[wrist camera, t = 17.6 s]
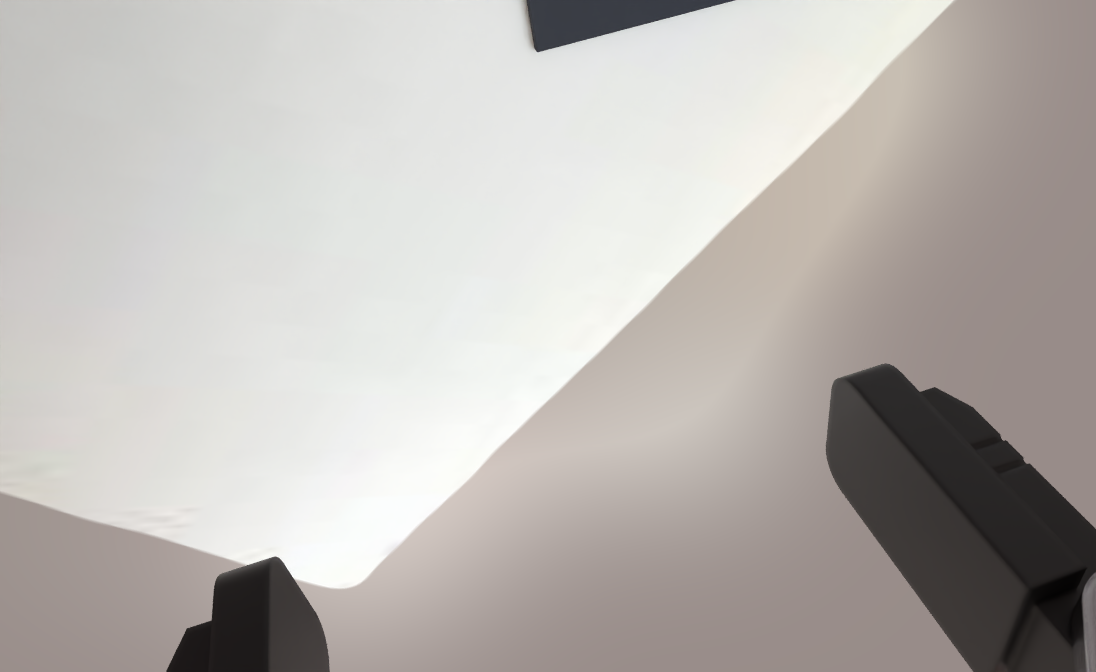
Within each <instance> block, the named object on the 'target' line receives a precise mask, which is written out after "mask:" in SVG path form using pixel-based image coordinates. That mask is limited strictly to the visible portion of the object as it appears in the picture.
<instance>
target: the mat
mask: <svg viewBox="0 0 1096 672" xmlns="http://www.w3.org/2000/svg"><path fill="white" fill-rule="evenodd" d="M730 1H734V0H527V6H528V11H529V17H530V23H531V29H532V35H533V40H534V46H535V50H536V51H537V52H540V51H544V50H548V49H552V48H556V47H559V46H563V45H567V44H571V43H575V42H578V41H582V40H586V39H590V38H594V37H597V36H601V35H605V34H609V33H613V32H616V31H620V30H624V29H628V28H632V27H635V26H639V25H643V24H647V23H651V22H654V21H658V20H662V19H666V18H670V17H673V16H677V15H681V14H685V13H689V12H692V11H696V10H700V9H704V8H707V7H711V6H715V5H719V4H723V3H726V2H730Z"/></svg>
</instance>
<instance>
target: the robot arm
mask: <svg viewBox="0 0 1096 672" xmlns="http://www.w3.org/2000/svg"><path fill="white" fill-rule="evenodd" d="M826 455H827V461H828V464H829V467H830V471H831V473H832V475H833V478H834V479H835V482H836V483H837V485H838V487H839V488H840V490H841V491H842V493H843V494H844V495H845V497H846V498H847V500H848V501H849V502H850V504H851V505H852V506H853V508H854V509H855V510H856V512H857V513H858V515H859V516H860V517H861V519H862V520H863V521H864V523H865V524H866V525H867V527H868V528H869V530H870V531H871V532H872V534H873V535H874V537H875V538H876V539H877V541H878V542H879V543H880V544H881V546H882V547H883V549H884V550H885V551H886V553H887V554H888V556H889V557H890V558H891V560H892V561H893V562H894V564H895V565H896V567H897V568H898V569H899V571H900V572H901V573H902V575H903V576H904V578H905V579H906V580H907V582H908V583H909V584H910V586H911V587H912V588H913V590H914V591H915V592H916V594H917V595H918V597H919V598H920V599H921V601H922V602H923V603H924V605H925V606H926V607H927V609H928V610H929V612H930V613H931V614H932V616H933V617H934V618H935V620H936V621H937V623H938V624H939V625H940V627H941V628H942V629H943V631H944V632H945V634H946V635H947V636H948V638H949V639H950V640H951V642H952V643H953V644H954V646H955V647H956V648H957V650H958V651H959V653H960V654H961V655H962V657H963V658H964V660H965V661H966V662H967V663H968V665H969V666H970V668H971V669H972V670H973V672H1096V529H1095V528H1094V527H1093V526H1092V525H1091V524H1090V523H1089V522H1088V521H1087V520H1086V519H1085V518H1084V517H1083V516H1082V515H1081V514H1080V513H1079V512H1078V511H1077V510H1076V509H1075V508H1074V507H1073V506H1072V505H1071V504H1070V503H1069V502H1068V501H1067V500H1066V499H1065V498H1064V497H1063V496H1062V495H1061V494H1060V493H1059V492H1058V491H1057V490H1056V489H1055V488H1054V487H1053V486H1052V485H1051V484H1050V483H1049V482H1048V481H1047V480H1046V479H1044V477H1043V476H1042V475H1041V474H1040V473H1039V472H1038V471H1036V469H1035V468H1033V467H1032V465H1031V464H1026V463H1025V462H1024V460H1023V457H1022V456H1021V455H1020V454H1019V453H1018V452H1017V451H1016V450H1015V449H1014V448H1013V447H1012V446H1011V445H1010V444H1009V443H1008V442H1007V441H1006V440H1005V441H1003V440H1002V439H1001V437H1000V434H999V433H998V432H997V431H996V430H995V429H994V428H993V427H992V426H991V425H990V424H989V423H988V422H987V421H986V420H985V419H984V418H983V417H982V416H981V415H980V414H979V413H978V412H977V411H976V410H975V409H974V408H973V407H971V406H969V405H968V404H966V403H964V402H962V401H960V400H958V399H956V398H954V397H952V396H950V395H949V394H947V393H945V392H943V391H941V390H939V389H937V388H935V387H934V388H931V389H928V390H925V391H922V392H919V391H918V390H917V389H916V388H915V386H914V385H912V383H911V382H910V381H909V380H908V379H907V378H906V377H905V376H904V375H903V374H902V373H901V372H900V371H899V370H898V369H897V368H895V367H894V366H892V365H890V364H881V365H878V366H875V367H872V368H869V369H866V370H863V371H860V372H857V373H853V374H850V375H847V376H844V377H841V378H838V379H836V380H835V381H834V383H833V385H832V391H831V400H830V411H829V422H828V431H827V442H826ZM167 672H330V671H329V656H328V649H327V644H326V639H325V635H324V631H323V628H322V625H321V623H320V620H319V618H318V616H317V614H316V612H315V611H314V609H313V608H312V606H311V605H310V603H309V602H308V600H307V599H306V597H305V595H304V594H303V592H302V591H301V589H300V588H299V586H298V585H297V583H296V582H295V580H294V579H293V577H292V575H291V574H290V572H289V571H288V569H287V568H286V566H285V565H284V563H283V562H282V561H281V559H279V558H278V557H272V558H269V559H266V560H263V561H259V562H256V563H253V564H250V565H247V566H244V567H241V568H238V569H234V570H231V571H228V572H225V573H222V574H220V575H219V576H218V577H217V579H216V582H215V586H214V596H213V610H212V621H209V622H206V623H203V624H200V625H197V626H193V627H190V628H187V629H186V632H185V634H184V636H183V638H182V640H181V642H180V644H179V646H178V648H177V650H176V652H175V654H174V656H173V659H172V661H171V663H170V665H169V667H168V669H167Z"/></svg>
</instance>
